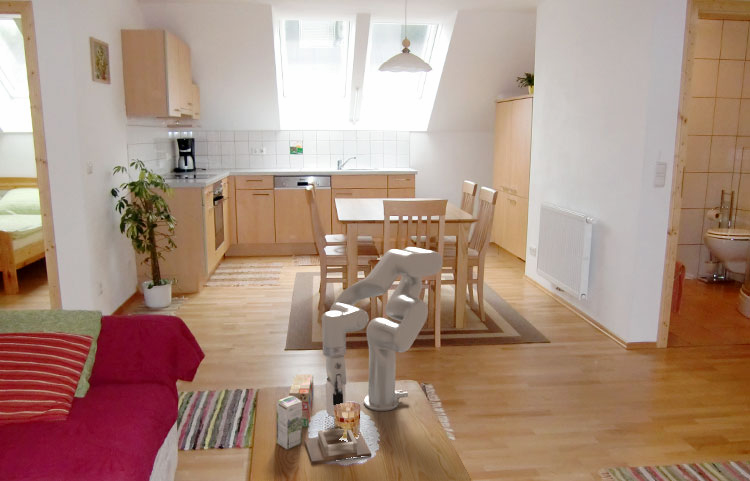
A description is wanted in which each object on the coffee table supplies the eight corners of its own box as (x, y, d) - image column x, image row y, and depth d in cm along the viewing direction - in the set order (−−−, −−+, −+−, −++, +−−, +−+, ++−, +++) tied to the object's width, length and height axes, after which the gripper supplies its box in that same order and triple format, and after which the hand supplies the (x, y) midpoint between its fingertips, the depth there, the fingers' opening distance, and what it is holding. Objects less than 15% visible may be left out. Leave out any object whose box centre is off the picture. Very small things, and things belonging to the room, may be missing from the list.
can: (349, 411, 194) (349, 378, 191) (335, 419, 189) (334, 385, 186) (336, 405, 198) (335, 372, 195) (322, 412, 193) (321, 379, 191)
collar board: (360, 434, 187) (360, 423, 186) (371, 456, 175) (371, 443, 174) (304, 441, 182) (304, 430, 182) (312, 464, 170) (311, 451, 169)
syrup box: (291, 436, 185) (290, 394, 182) (302, 444, 181) (302, 400, 178) (276, 443, 181) (275, 399, 179) (287, 450, 177) (287, 406, 174)
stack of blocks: (296, 398, 212) (296, 366, 210) (313, 398, 212) (313, 366, 210) (289, 427, 191) (289, 392, 189) (308, 427, 191) (308, 392, 189)
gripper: (352, 357, 181) (353, 410, 185) (339, 338, 198) (341, 386, 202) (328, 360, 179) (330, 413, 183) (318, 340, 196) (319, 389, 200)
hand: (335, 399), depth 192 cm, fingers closed on can, 6 cm apart
